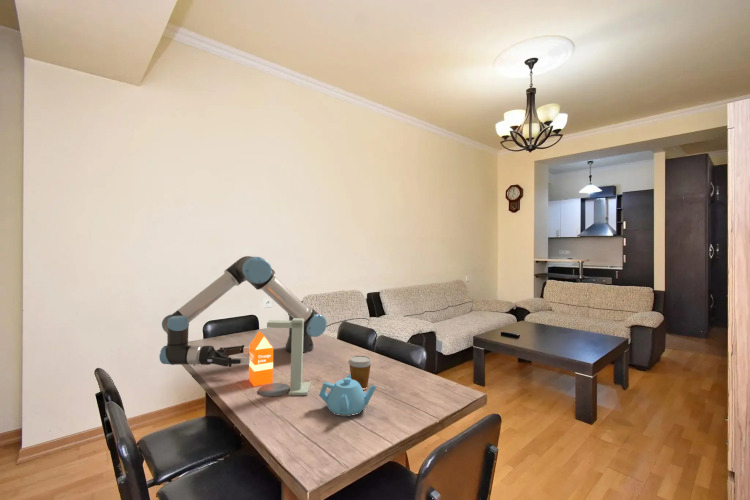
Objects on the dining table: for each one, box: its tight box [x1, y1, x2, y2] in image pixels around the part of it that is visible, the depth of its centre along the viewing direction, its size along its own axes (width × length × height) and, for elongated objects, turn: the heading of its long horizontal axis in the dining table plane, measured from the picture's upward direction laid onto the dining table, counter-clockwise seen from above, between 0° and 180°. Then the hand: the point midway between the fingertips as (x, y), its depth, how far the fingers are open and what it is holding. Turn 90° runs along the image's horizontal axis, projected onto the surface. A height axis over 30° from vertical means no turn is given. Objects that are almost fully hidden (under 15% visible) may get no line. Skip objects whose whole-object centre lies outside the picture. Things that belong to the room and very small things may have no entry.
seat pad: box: [257, 382, 290, 398], centre depth 136 cm, size 12×12×1 cm
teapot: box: [318, 374, 377, 415], centre depth 123 cm, size 15×15×11 cm
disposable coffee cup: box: [347, 354, 373, 388], centre depth 141 cm, size 10×10×12 cm
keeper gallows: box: [266, 318, 311, 396], centre depth 137 cm, size 16×10×28 cm, turn 94°
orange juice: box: [248, 330, 274, 387], centre depth 145 cm, size 8×9×20 cm
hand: (254, 355), depth 145 cm, fingers open, 13 cm apart
